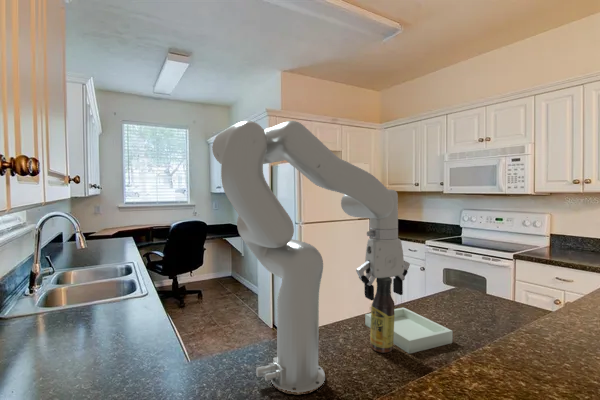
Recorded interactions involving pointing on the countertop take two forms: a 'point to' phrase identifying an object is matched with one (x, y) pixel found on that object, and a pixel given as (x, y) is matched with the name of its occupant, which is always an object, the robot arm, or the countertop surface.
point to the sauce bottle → (382, 317)
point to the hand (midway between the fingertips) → (383, 296)
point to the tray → (416, 331)
